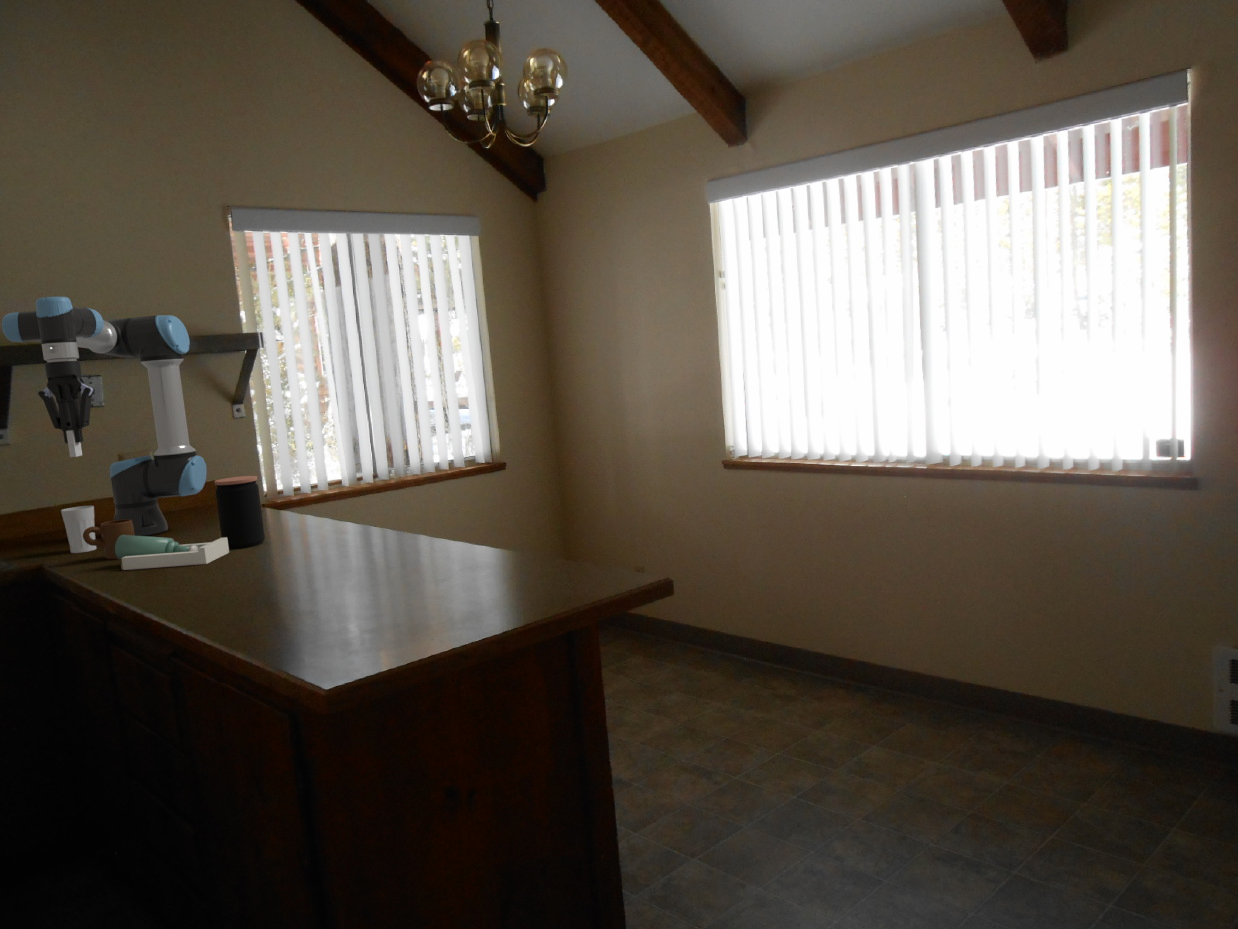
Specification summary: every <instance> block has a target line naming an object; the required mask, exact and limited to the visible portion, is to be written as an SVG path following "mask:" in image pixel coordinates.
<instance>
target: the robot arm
mask: <svg viewBox="0 0 1238 929" xmlns="http://www.w3.org/2000/svg"><path fill="white" fill-rule="evenodd" d="M1 330H2V333H3V334H4V336H5V338H6V339H7V340H9V342H12V343H27V342H36V343H41V349H42V355H43V360H44V361H46V362H45V364H44V369H45V375H46V376H45V377H46V378H47V383H46V388H44V389H43V390H40V391H38V392H37V394H38V397H40V398H41V399H42V401H43V403H44V405H45V408H46V411H47V414H48V416H49V418H50V420H51V423H52V425H53V428H54V429H55V430H56V429H58V430H61V431H62V432H63V439H64V443H65V444H67V445H68V451H69V458H75V457H76V458H77V457H82V456H83V451H82V444H81V443H83V442H84V436H83V429H84V428H86V427H89V425H90V420H91V408H92V399H93V398H92V397H93V395H94V393H95V391H96V390H95V387H94V386H93V387H92V386H88V385H86V384H85V382H84V380H83V379H82V368H81V362H80V361H79V360H77V359H79V358H80V353H79V348H84V349H89V350H90V351H91V352H93V353H96V354H100V355H101V354H102V355H107V356H108V355H109V356H114V357H115V356H116V357H122V358H139V359H140V360H139V361H140V364H141V365H143V366H144V367H145V368H146V369H147V375H148V382H149V383H148V384H149V390H150V398H151V406H152V411H153V418H154V419H153V420H154V426H155V433H156V440H157V447H158V448H157V449H156V451H155V452H154V453H153V457H152V455H150V454H149V455H144V456H143V455H142V456H138V457H134V458H130V459H125V460H119V461H116V462H113V463H112V464H111V465H110V468H109V476H110V477H109V479H110V482H111V484H110V485H111V490H112V496H113V503H114V510H115V513H114V516H113V517H114V518H113V521H114V520H123V519H131V520H132V523H133V527H134V534H135V536H151V535H155V534H160V533H164V532H167V531H168V529H169V528H168V522H167V520H166V517H165V516H164V515H163V513H162V511H161V510H162V509H160V506H159V502H158V498H171V497H187V496H192V495H193V496H194V495H197V494H198V493H200V492H201V491H202V490H203V488H204V487H205V484H206V479H207V474H208V471H207V463H206V462H205V459H204V457H202V456H201V455H197V450H196V448H194V447H193V446H191V444H190V437H189V430H188V424H187V416H186V408H185V402H184V393H183V387H182V386H183V385H182V378H181V372H180V365H181V363H182V362H183V361H184V360H185V358H184V355H185V354H187V352H189V350H190V345H191V344H190V343H191V342H190V337H189V334H188V331H187V328H186V326H185V324H184V323H183V322H182V320H181V319H179V317H177V316H174V315H172V314H166V315H164V314H163V315H162V314H158V315H147V316H138V317H125V318H119V319H111V320H108V319H107V320H104V319H103V317H102V314H100V312H98V311H97V310H95V309H93V308H89V307H86V306H85V307H74V306H73V304H72V301H71V299H70V298H69V297H67V296H46V297H44V296H43V297H39V298H37V299H36V301H35V310H33V311H31V310H29V311H16V312H9V313H7V314H5V315H4V316H3V318H2V320H1ZM80 393H81V397H80ZM53 396H54V397H55V398H54V397H53Z"/></svg>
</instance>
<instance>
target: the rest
mask: <svg viewBox="0 0 1238 929" xmlns="http://www.w3.org/2000/svg"><path fill="white" fill-rule="evenodd" d="M191 545H196V546H197V547H198V551H189V552H176V553H163V554H150V555H136V556H125V557H123V558H122V559H121V564H120V568H121V570H122V571H126V570H127V571H130V570H141V569H142V570H143V569H154V568H155V569H157V568H169V567H171V568H172V567H182V566H183V567H185V566H193V565H195V566H197V565H207V564H209V563H211V562H213V561H215V560H217V559H219V558H221V557H223V556H225V555H227V554H229V553H230V549H229V547H228V539H227V537H225V538H222V537H220V538H218V539H215V540H214V541H211V542H201V543H200V542H198V543H186V544H179V546H191Z"/></svg>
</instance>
